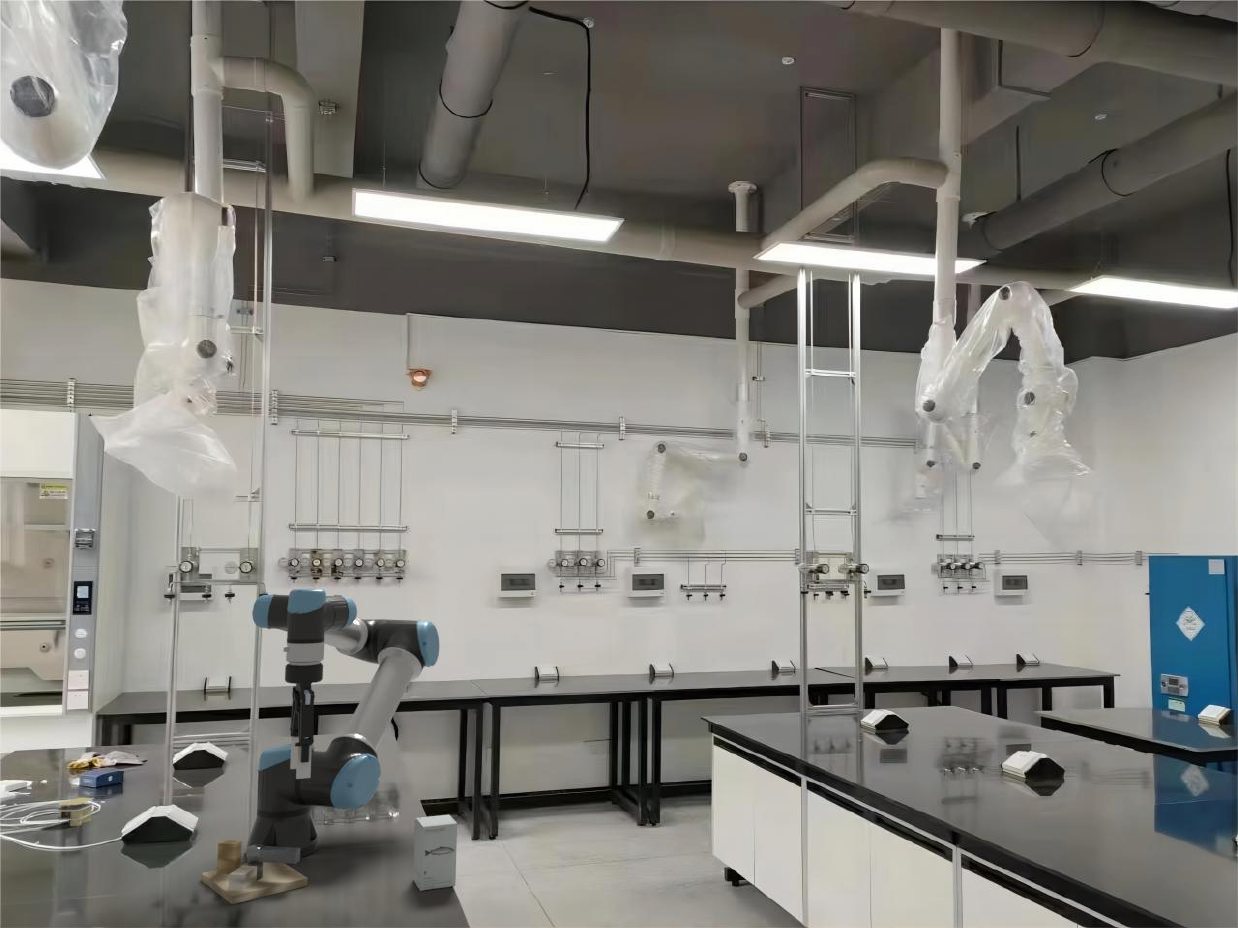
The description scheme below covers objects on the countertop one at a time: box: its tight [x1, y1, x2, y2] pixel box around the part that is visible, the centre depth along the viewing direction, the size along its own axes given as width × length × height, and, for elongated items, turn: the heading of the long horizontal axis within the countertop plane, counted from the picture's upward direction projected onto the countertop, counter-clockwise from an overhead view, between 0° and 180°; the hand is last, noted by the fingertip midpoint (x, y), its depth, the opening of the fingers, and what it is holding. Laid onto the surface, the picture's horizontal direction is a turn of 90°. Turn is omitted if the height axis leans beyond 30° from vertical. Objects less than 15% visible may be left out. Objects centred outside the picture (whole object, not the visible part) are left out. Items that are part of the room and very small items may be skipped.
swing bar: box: [245, 844, 301, 865], centre depth 186 cm, size 11×4×2 cm, turn 82°
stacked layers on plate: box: [57, 797, 95, 827], centre depth 227 cm, size 10×9×6 cm
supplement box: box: [412, 814, 458, 892], centre depth 189 cm, size 7×7×13 cm
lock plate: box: [201, 839, 309, 905], centre depth 188 cm, size 15×17×8 cm
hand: (300, 772), depth 192 cm, fingers open, 9 cm apart
